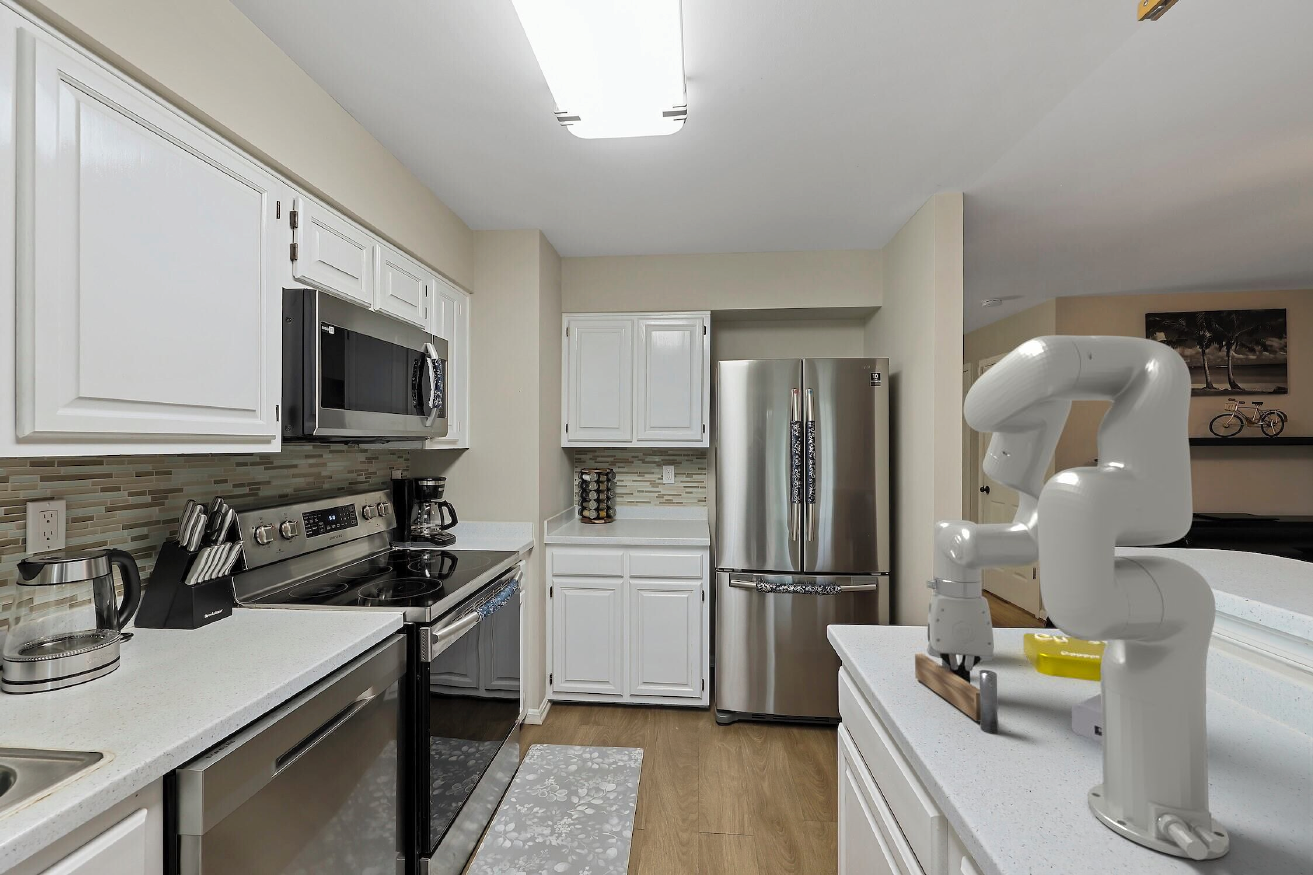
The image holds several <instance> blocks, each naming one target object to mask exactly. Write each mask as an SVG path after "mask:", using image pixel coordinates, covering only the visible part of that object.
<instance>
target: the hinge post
mask: <svg viewBox="0 0 1313 875" xmlns="http://www.w3.org/2000/svg"><path fill="white" fill-rule="evenodd" d="M979 690H980V721H979V722H980V725H979V727H980V730H981V731H983V732H985V733H987V734H998V732H999V722H998V721H999V717H998V716H999V714H998V713H999V712H998V674H997V673H996V672H995V671H992V670H989V669H988V670H987V669H981V670H979Z"/></svg>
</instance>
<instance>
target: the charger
mask: <svg viewBox="0 0 1313 875" xmlns="http://www.w3.org/2000/svg"><path fill="white" fill-rule="evenodd" d="M1071 729H1072V731H1073V732H1075V733H1076V734H1078V735H1080V736H1083V737H1085V738H1087V739H1091V740H1092V741H1093V740H1094V741H1096V742H1099V743H1101V744H1102V718H1101V693H1099V694H1096V695H1095V696H1093V697H1090V698H1088V699H1086V700H1084V701H1082V702H1080V703H1077V704H1075V705H1073V706H1071Z"/></svg>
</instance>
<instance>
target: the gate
mask: <svg viewBox="0 0 1313 875" xmlns="http://www.w3.org/2000/svg"><path fill="white" fill-rule="evenodd" d="M914 666H915V669H914V670H915V671H914V672H915V673H914V674H915V679H917V680H918V681H920V682H921V683H922V684H924V685H925V686H927V687H928V688H929V689H931V690H932V691H933V692H935V693H936V694H938V695H940V696H941V697H942V698H943V699H945V700H946V701H947V702H950V703H951V704H952V705H953V706H955V707H956V708H957V709H959V710H960V711H962V712H963V713H964V714H966V716H967V715H968V717H970V718H972V719H973V720H974V721H975V722H980V688H978V687H976V686H974V685H973V684H971V682H970V683H968V682H967V681H965V680H963V679H962V678H960V677H959V676H957V675H955V674H954V673H952V672H951V671H949V670H948V669H946V668H944V667H943V666H942V664H939V663H938V662H937V661H935V660H933V659H932V658H930V657H928V656H927V655H925V653H924V654H923V653H915V654H914Z"/></svg>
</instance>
